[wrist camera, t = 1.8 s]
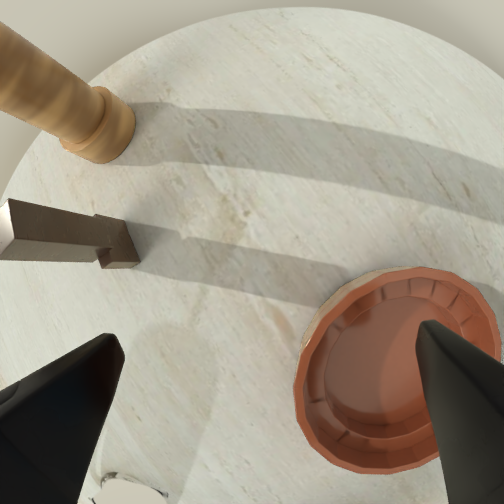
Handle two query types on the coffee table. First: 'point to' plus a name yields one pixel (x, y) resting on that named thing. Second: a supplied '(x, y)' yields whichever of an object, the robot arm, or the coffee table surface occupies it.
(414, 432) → the bowl
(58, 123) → the pepper mill
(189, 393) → the coffee table surface
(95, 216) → the brown long block
